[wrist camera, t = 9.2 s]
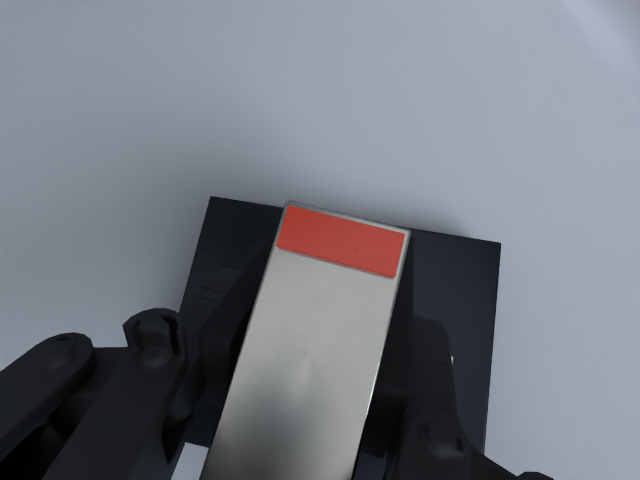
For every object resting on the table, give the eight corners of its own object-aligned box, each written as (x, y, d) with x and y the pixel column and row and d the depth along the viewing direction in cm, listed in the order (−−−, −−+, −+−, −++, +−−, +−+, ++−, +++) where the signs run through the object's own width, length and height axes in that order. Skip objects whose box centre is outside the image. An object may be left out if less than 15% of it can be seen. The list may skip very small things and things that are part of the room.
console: (168, 419, 17) (143, 434, 15) (223, 207, 19) (208, 194, 17) (462, 490, 15) (481, 518, 13) (484, 250, 17) (503, 241, 15)
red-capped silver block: (341, 423, 14) (337, 561, 6) (273, 401, 15) (187, 503, 7) (378, 273, 15) (414, 226, 7) (315, 256, 16) (284, 195, 8)
